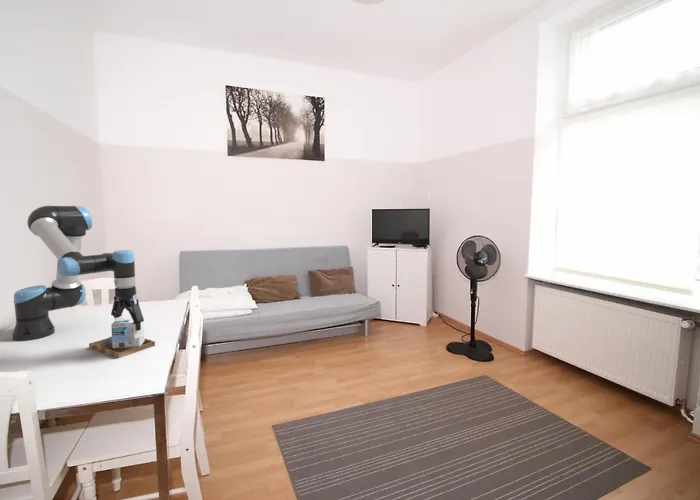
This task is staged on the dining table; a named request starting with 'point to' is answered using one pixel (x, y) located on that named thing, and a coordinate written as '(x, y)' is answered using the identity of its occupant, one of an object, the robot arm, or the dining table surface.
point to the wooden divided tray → (119, 352)
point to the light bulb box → (125, 334)
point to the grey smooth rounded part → (109, 341)
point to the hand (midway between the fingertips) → (128, 334)
